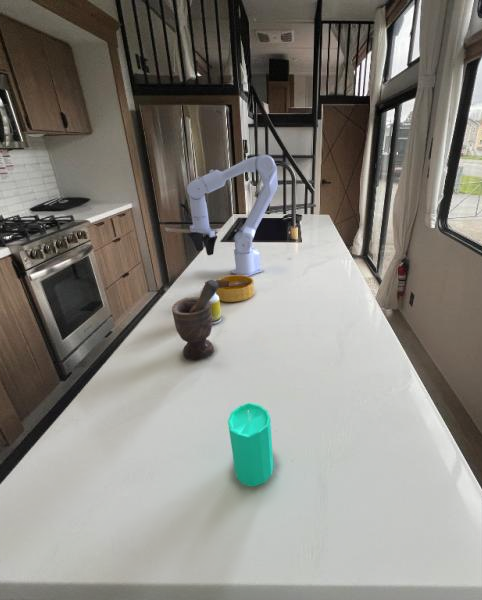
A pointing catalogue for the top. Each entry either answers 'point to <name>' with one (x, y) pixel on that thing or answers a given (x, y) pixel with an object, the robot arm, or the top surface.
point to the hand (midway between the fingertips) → (205, 252)
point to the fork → (226, 283)
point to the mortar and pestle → (195, 322)
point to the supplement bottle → (215, 309)
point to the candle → (251, 444)
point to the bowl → (236, 289)
